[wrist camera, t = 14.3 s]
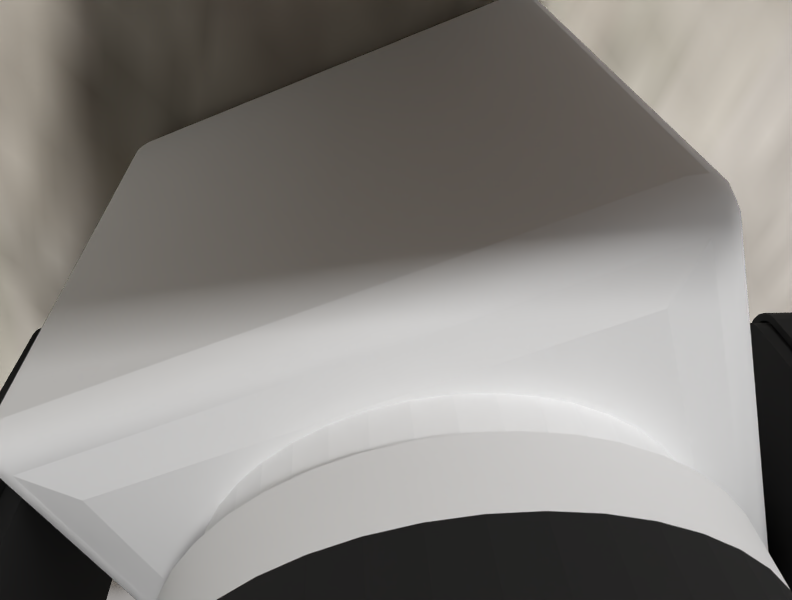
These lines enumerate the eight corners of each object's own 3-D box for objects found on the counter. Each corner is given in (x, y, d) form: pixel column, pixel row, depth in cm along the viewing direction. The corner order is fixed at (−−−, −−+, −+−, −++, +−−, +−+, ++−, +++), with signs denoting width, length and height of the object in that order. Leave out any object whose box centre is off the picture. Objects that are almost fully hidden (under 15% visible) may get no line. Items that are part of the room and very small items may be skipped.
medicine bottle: (131, 142, 12) (-703, 1604, 2) (529, -21, 11) (2088, 1360, 1) (305, 413, 16) (272, 1352, 6) (609, 312, 15) (1124, 1249, 5)
